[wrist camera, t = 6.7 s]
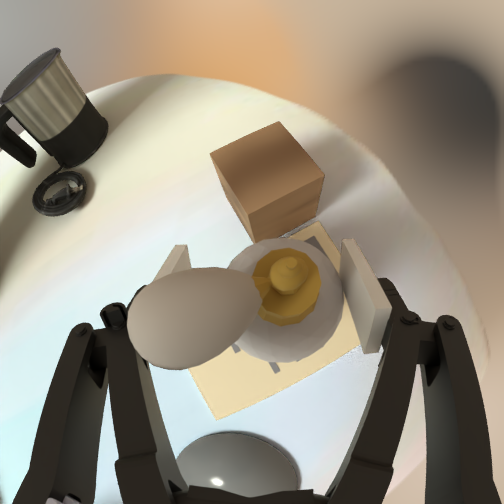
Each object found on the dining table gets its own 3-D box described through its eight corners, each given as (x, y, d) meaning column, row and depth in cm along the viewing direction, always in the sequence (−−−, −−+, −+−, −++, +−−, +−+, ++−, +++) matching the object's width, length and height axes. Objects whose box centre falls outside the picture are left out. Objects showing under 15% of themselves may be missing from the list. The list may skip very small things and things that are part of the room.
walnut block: (226, 197, 27) (209, 153, 20) (280, 169, 27) (279, 121, 20) (257, 249, 25) (247, 214, 18) (315, 217, 25) (324, 174, 18)
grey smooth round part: (153, 453, 20) (151, 454, 19) (259, 413, 20) (259, 414, 20) (212, 533, 16) (212, 535, 16) (317, 501, 17) (317, 503, 16)
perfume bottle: (350, 301, 20) (437, 250, 8) (261, 402, 18) (249, 477, 6) (274, 237, 22) (278, 128, 10) (185, 331, 20) (89, 313, 8)
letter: (160, 307, 24) (159, 307, 24) (318, 221, 25) (318, 220, 25) (216, 420, 20) (216, 420, 20) (383, 327, 21) (384, 327, 21)
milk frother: (98, 109, 34) (52, 42, 20) (141, 154, 30) (78, 61, 16) (33, 173, 32) (-25, 121, 18) (57, 238, 28) (-32, 181, 14)
